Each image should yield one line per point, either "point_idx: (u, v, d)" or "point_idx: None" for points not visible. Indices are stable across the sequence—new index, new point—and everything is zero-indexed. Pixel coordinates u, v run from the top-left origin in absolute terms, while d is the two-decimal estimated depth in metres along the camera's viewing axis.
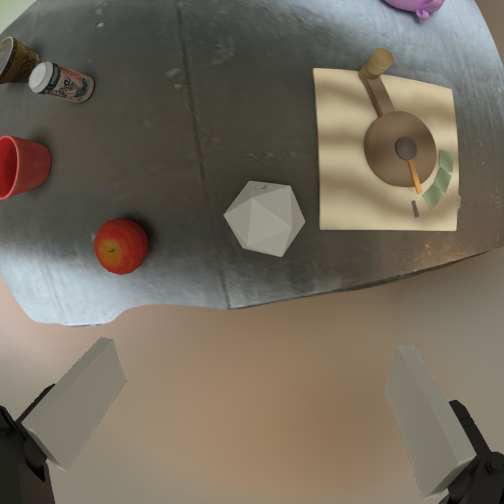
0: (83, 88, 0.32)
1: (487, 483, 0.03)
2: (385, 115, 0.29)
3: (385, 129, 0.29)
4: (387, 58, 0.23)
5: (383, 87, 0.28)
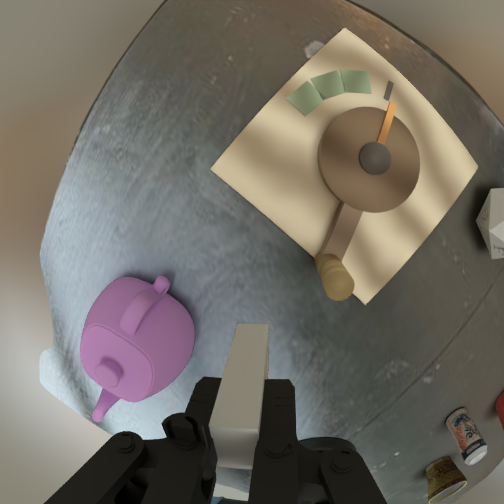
0: (461, 419, 0.32)
1: (271, 469, 0.06)
2: (365, 209, 0.24)
3: (379, 196, 0.24)
4: (337, 282, 0.21)
5: (332, 238, 0.26)
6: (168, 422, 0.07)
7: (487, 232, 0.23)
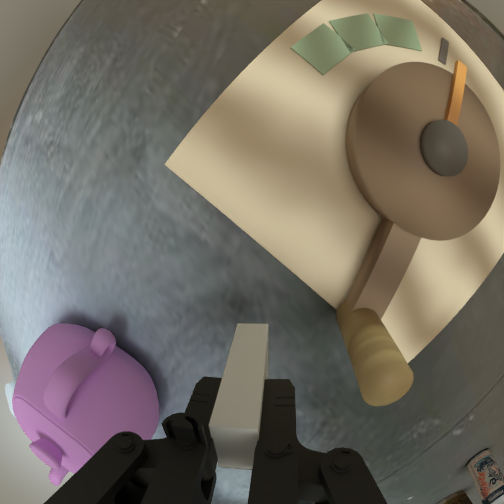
0: (485, 463, 0.20)
1: (271, 469, 0.06)
2: (428, 236, 0.13)
3: (449, 213, 0.12)
4: (385, 380, 0.10)
5: (370, 283, 0.14)
6: (168, 422, 0.07)
7: None
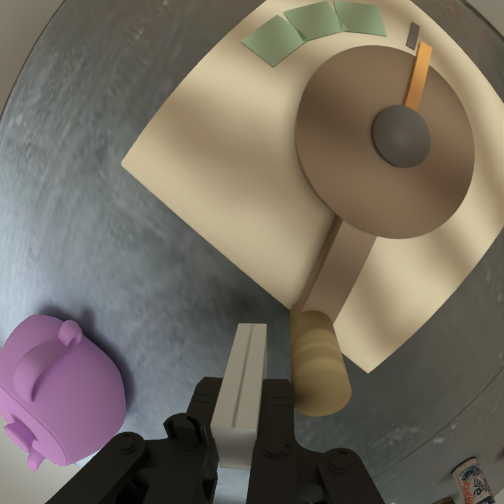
0: (471, 472, 0.20)
1: (269, 469, 0.06)
2: (383, 234, 0.12)
3: (409, 208, 0.12)
4: (316, 391, 0.10)
5: (319, 284, 0.14)
6: (170, 422, 0.07)
7: None
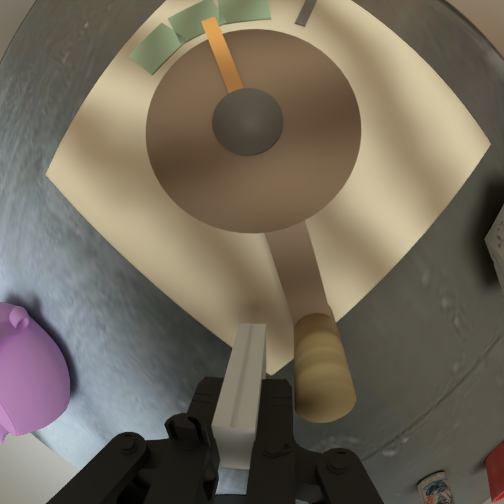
0: (436, 487, 0.21)
1: (268, 469, 0.06)
2: (304, 216, 0.12)
3: (309, 174, 0.12)
4: (315, 401, 0.09)
5: (289, 295, 0.14)
6: (171, 422, 0.07)
7: None
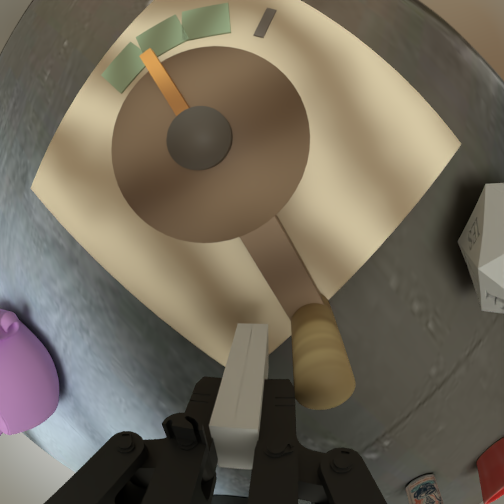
0: (424, 489, 0.21)
1: (270, 469, 0.06)
2: (271, 213, 0.13)
3: (267, 172, 0.12)
4: (313, 389, 0.10)
5: (278, 291, 0.14)
6: (168, 422, 0.07)
7: (475, 269, 0.12)
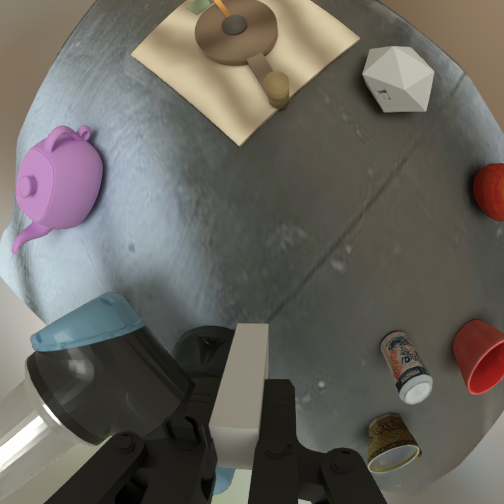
0: (397, 341, 0.35)
1: (271, 469, 0.06)
2: (260, 49, 0.26)
3: (259, 36, 0.25)
4: (271, 81, 0.23)
5: (261, 81, 0.27)
6: (168, 422, 0.07)
7: (365, 79, 0.25)
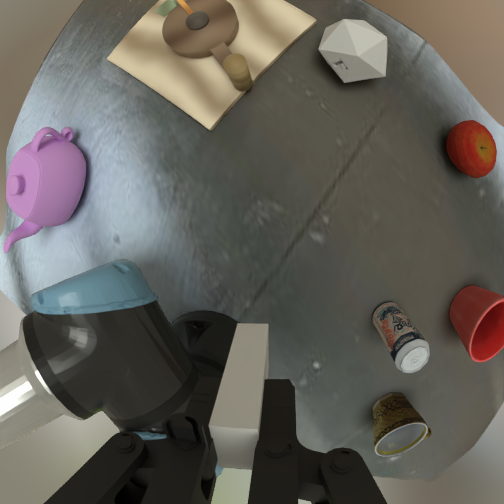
0: (389, 311, 0.35)
1: (271, 469, 0.06)
2: (222, 39, 0.27)
3: (220, 28, 0.26)
4: (230, 62, 0.24)
5: None
6: (168, 422, 0.07)
7: (322, 54, 0.26)
